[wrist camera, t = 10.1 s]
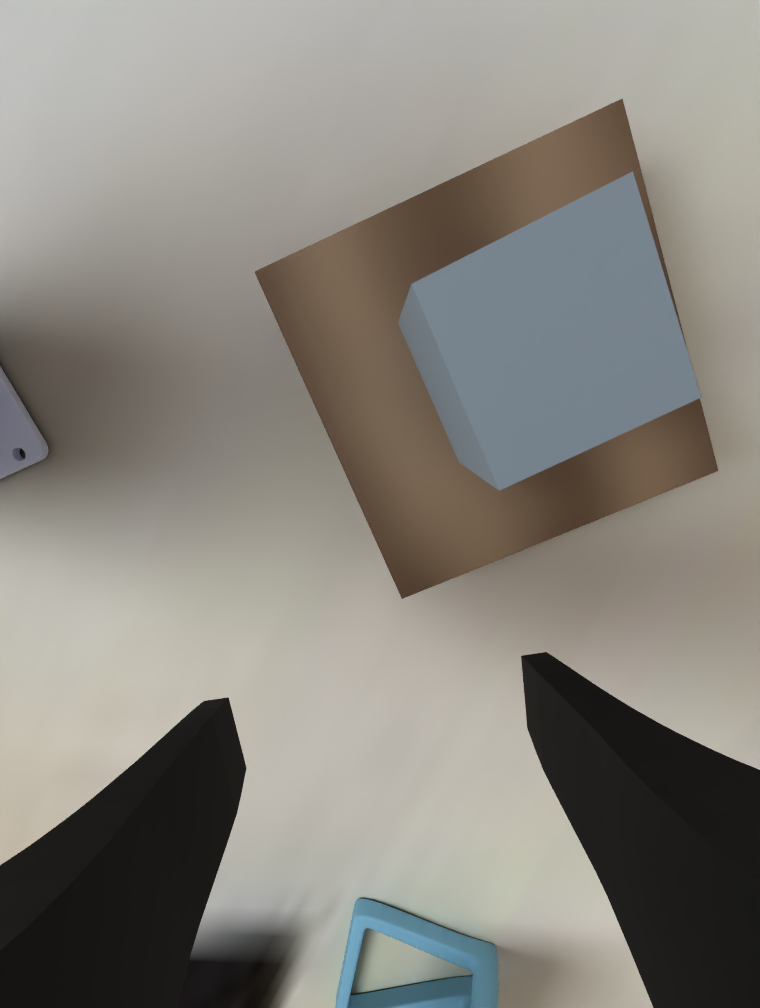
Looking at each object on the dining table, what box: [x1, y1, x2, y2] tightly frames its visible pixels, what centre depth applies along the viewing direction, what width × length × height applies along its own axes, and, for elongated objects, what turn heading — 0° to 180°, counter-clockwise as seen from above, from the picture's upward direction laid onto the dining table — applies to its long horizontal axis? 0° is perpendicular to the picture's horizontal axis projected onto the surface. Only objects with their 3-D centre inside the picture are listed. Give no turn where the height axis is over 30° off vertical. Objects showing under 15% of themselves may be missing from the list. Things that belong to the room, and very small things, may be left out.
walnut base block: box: [255, 99, 718, 599], centre depth 17 cm, size 12×12×4 cm
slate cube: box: [398, 171, 701, 491], centre depth 12 cm, size 5×5×5 cm
